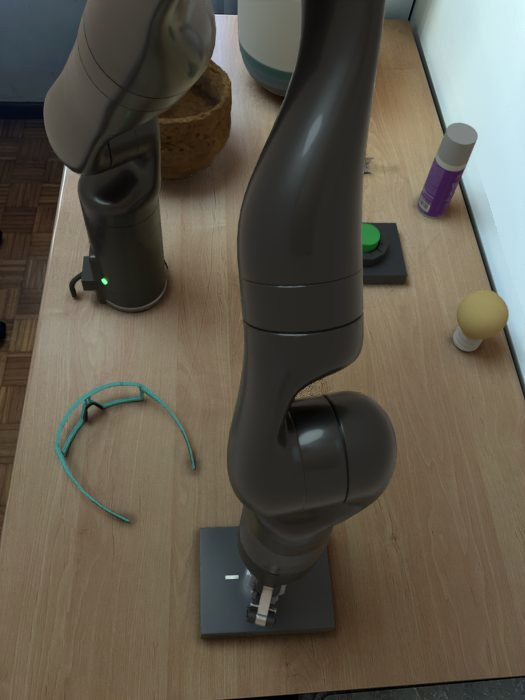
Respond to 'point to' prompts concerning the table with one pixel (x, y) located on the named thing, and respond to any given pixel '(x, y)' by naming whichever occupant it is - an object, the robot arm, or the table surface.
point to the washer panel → (234, 595)
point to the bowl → (196, 125)
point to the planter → (269, 40)
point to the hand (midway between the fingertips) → (267, 574)
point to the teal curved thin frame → (90, 402)
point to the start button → (369, 238)
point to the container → (446, 170)
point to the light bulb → (479, 319)
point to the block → (385, 258)
